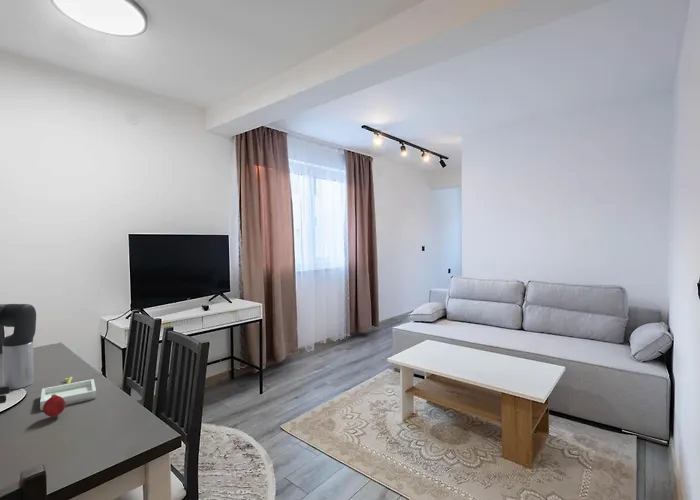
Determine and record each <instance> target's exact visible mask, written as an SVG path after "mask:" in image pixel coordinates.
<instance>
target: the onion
mask: <svg viewBox="0 0 700 500" xmlns="http://www.w3.org/2000/svg"><path fill="white" fill-rule="evenodd" d="M51 396H52V397H51V398H49V399H48V400H47V401H46V402H45V404H44V406H43V410H42V411H43V413H44V415H46V416H48V417H50V418H52V419H55V418H56V417H57V418H58V416H60V414H62V412H64V410H65V409H66V406H67V405H66V404H65V401H64V399H63V398H62V397H60V396H57V395H56V394H53V395H51Z"/></svg>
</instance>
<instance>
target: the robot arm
mask: <svg viewBox="0 0 700 500" xmlns="http://www.w3.org/2000/svg"><path fill="white" fill-rule="evenodd" d="M0 327H4V328H5V327H6V328H13V332H12V334H10V335H7V336H5V337H3V338H2V341H1V345H2V387H0V404H1V405H2V404H5V403H6V401H7V395H8V394H10V391H11V390H17V389H21V388H25V387H26V388H27V387H28V386H31V385H32V384H34V336H35V335H36V330H37V329H36V327H37V311H36V308H35V307H34V306H33V305H32V304H29V303H28V304H27V303H5V304H3V303H1V304H0Z"/></svg>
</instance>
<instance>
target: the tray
mask: <svg viewBox="0 0 700 500" xmlns="http://www.w3.org/2000/svg"><path fill="white" fill-rule="evenodd" d="M53 394H56V395H57V396H60V397H62V398H63V399H64V401H65V404H66V405H65V406H68V405H73V404H77V403H82V402H85V401H90V400H96V399H97V389H96V383H95V379H94V378H92V379H87V380H86V379H85V380H82V381H76V382H71V383H70V384H66V383H64V384H59V385H54V386H49V387H43V388H42V389H41V394H40V401H39V402H40V403H39V405H40V406H39V409H40V410H39V411H43V406H44V404H45V402H46V401H47V400H48V399H49V398H51V397H52V396H51V395H53Z"/></svg>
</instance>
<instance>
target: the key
mask: <svg viewBox="0 0 700 500" xmlns="http://www.w3.org/2000/svg"><path fill="white" fill-rule="evenodd" d="M72 380H73V376H69V377H65V378H64V381H66V383H65V384H70V383H72Z"/></svg>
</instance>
